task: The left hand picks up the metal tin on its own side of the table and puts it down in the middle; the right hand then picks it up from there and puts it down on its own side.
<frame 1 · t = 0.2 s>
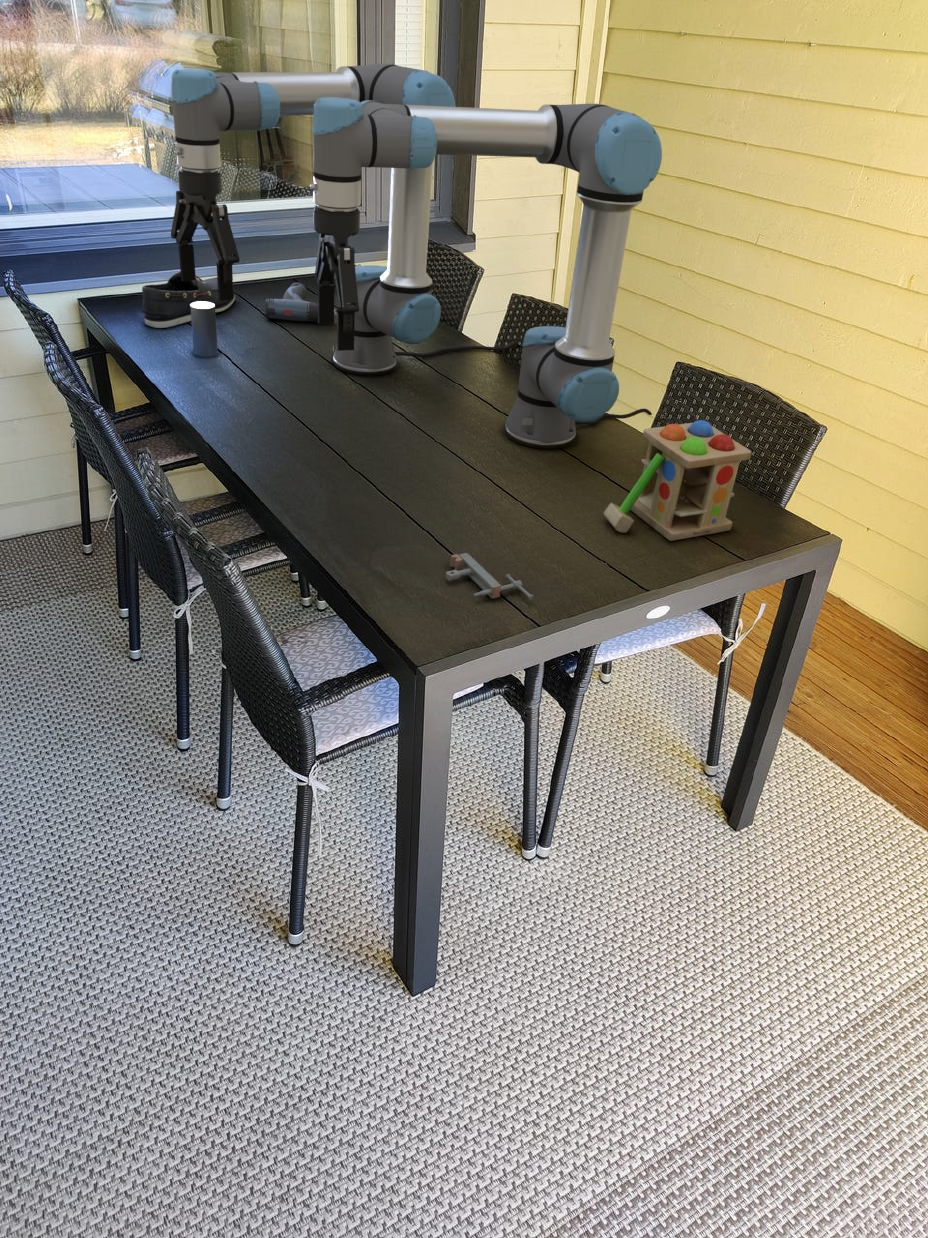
left hand: (206, 289, 186), 28 cm above the table, tool pointing down, fingers open, 13 cm apart
right hand: (335, 336, 170), 28 cm above the table, tool pointing down, fingers open, 13 cm apart
power drill: (305, 313, 267), on the table
clamp: (483, 587, 159), on the table
tin: (205, 353, 236), on the table
boat shoe: (191, 312, 260), on the table
molecular model: (338, 287, 290), on the table
pounding bench toy: (660, 522, 183), on the table
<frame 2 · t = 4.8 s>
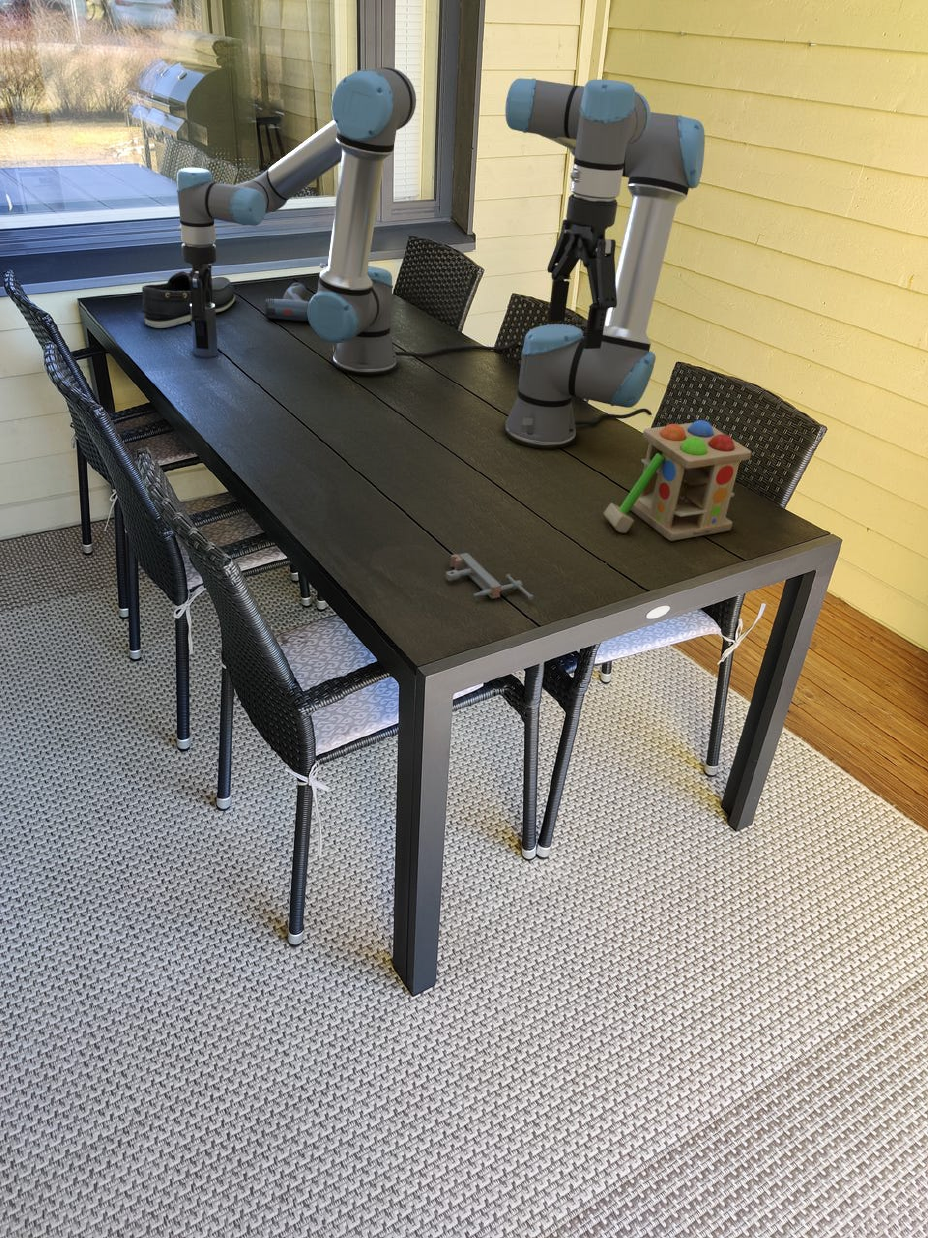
left hand: (205, 343, 235), 2 cm above the table, tool pointing down, fingers closed on tin, 6 cm apart
right hand: (573, 333, 161), 34 cm above the table, tool pointing down, fingers open, 13 cm apart
tin: (205, 353, 236), on the table, touching left hand
everything else where it was.
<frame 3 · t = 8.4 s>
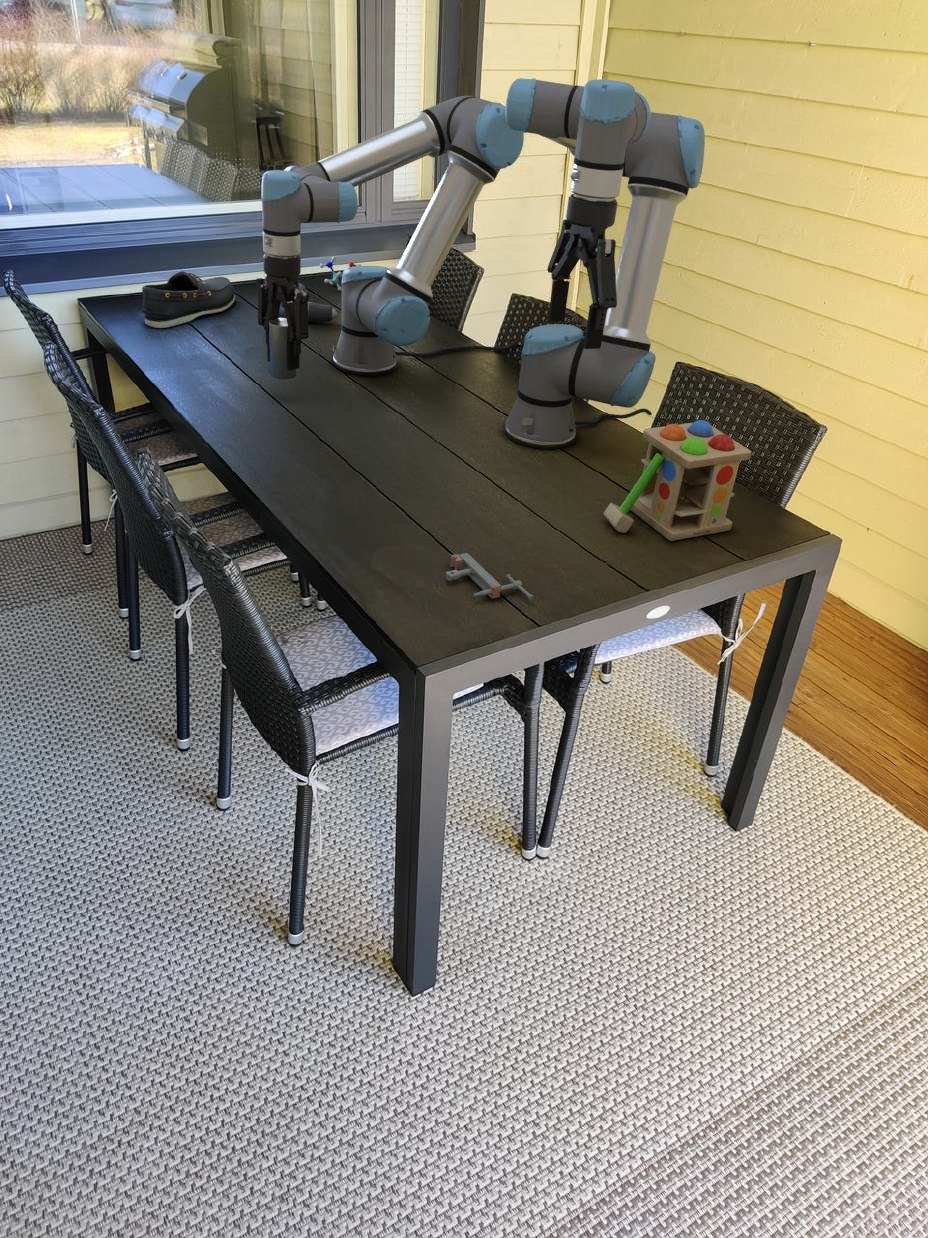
left hand: (283, 364, 213), 8 cm above the table, tool pointing down, fingers closed on tin, 6 cm apart
right hand: (573, 333, 161), 34 cm above the table, tool pointing down, fingers open, 13 cm apart
tin: (283, 374, 214), point 5 cm above the table, touching left hand
everything else where it was.
when the left hand's fingers open (4 cm above the table, at t = 11.9 s): tin drops 1 cm, on the table.
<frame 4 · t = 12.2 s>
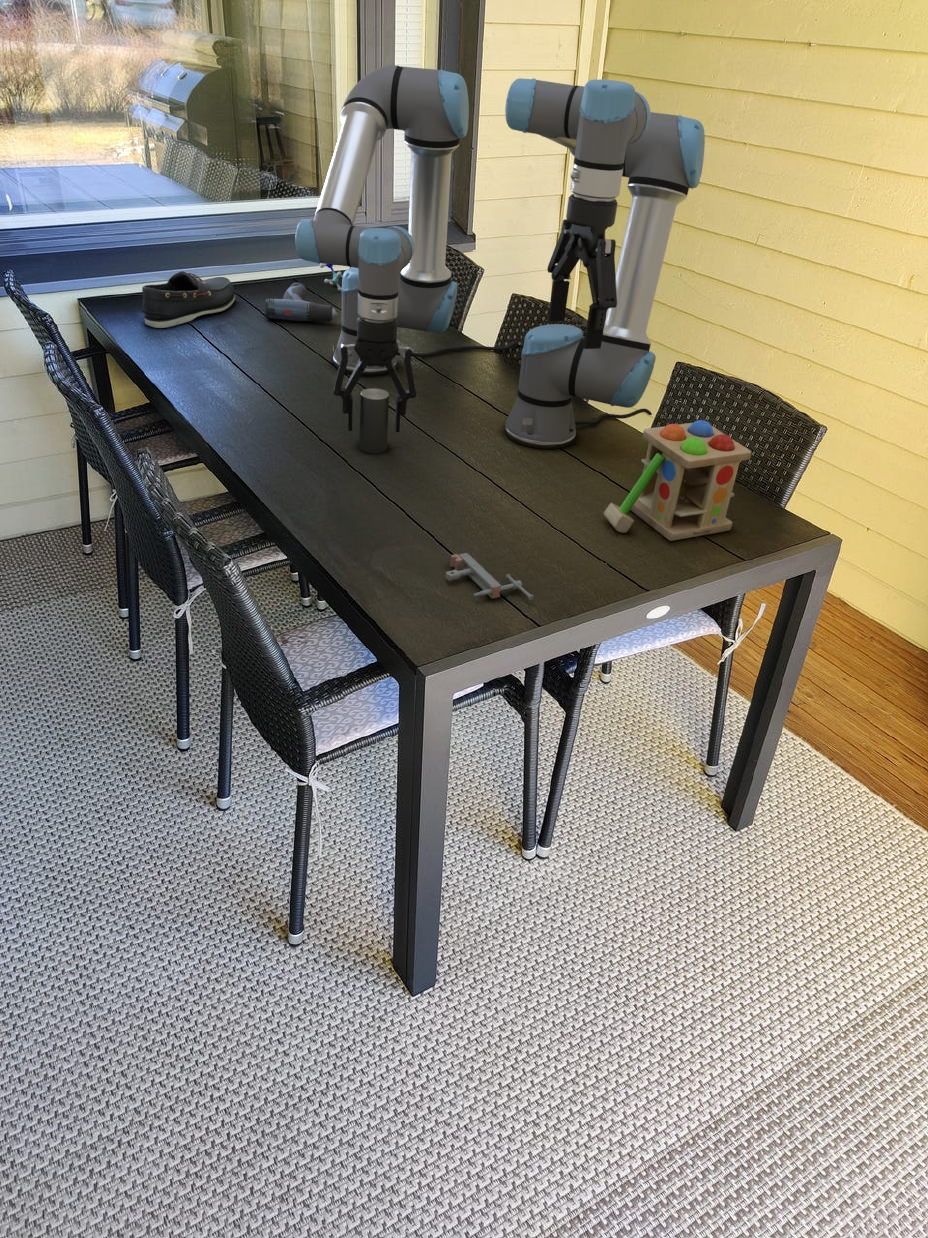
left hand: (373, 428, 197), 4 cm above the table, tool pointing down, fingers open, 9 cm apart
right hand: (573, 333, 161), 34 cm above the table, tool pointing down, fingers open, 13 cm apart
tin: (373, 447, 200), on the table
everything else where it was.
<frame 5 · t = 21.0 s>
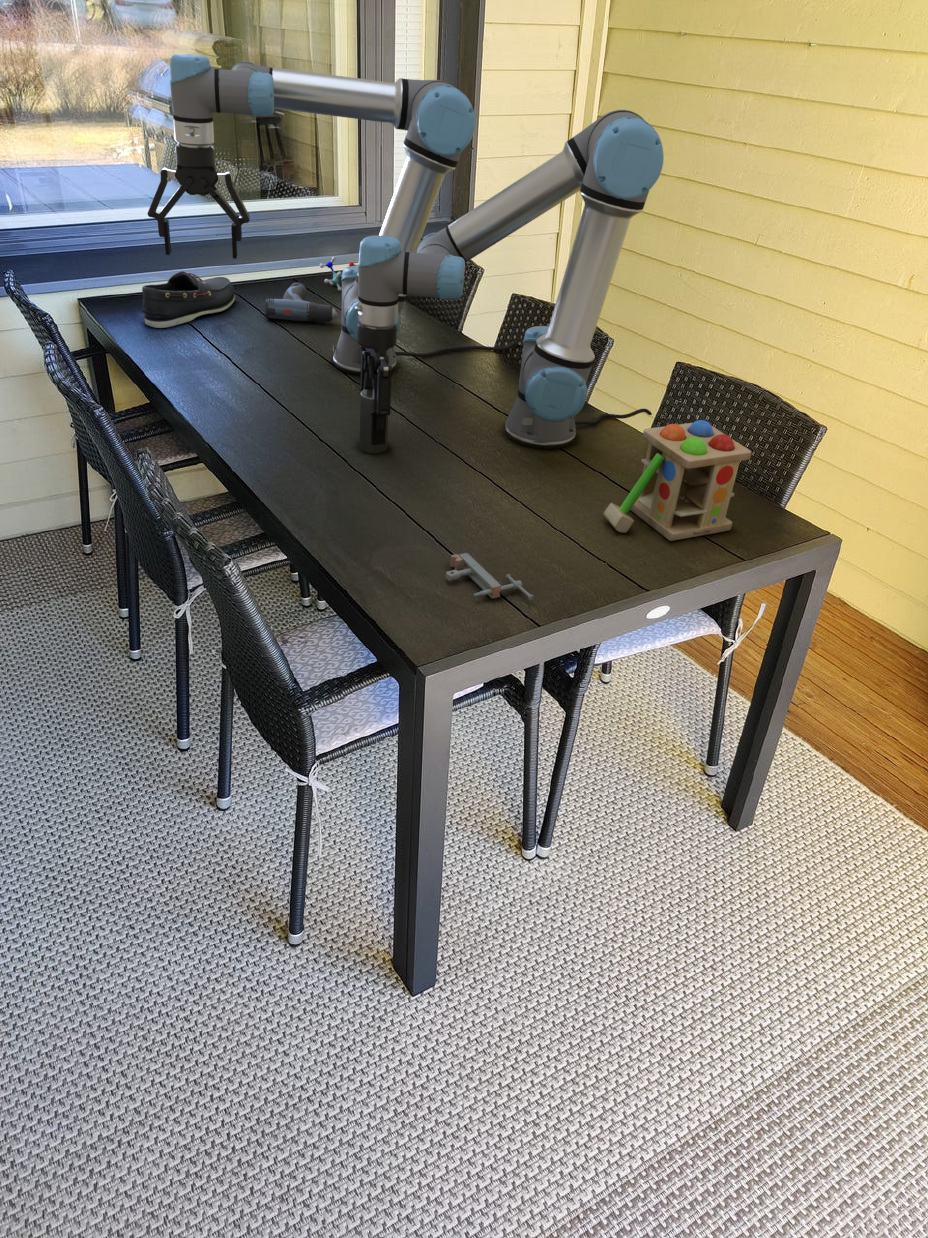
left hand: (201, 255, 206), 28 cm above the table, tool pointing down, fingers open, 13 cm apart
right hand: (373, 437, 198), 2 cm above the table, tool pointing down, fingers closed on tin, 6 cm apart
tin: (373, 447, 200), on the table, touching right hand
everything else where it was.
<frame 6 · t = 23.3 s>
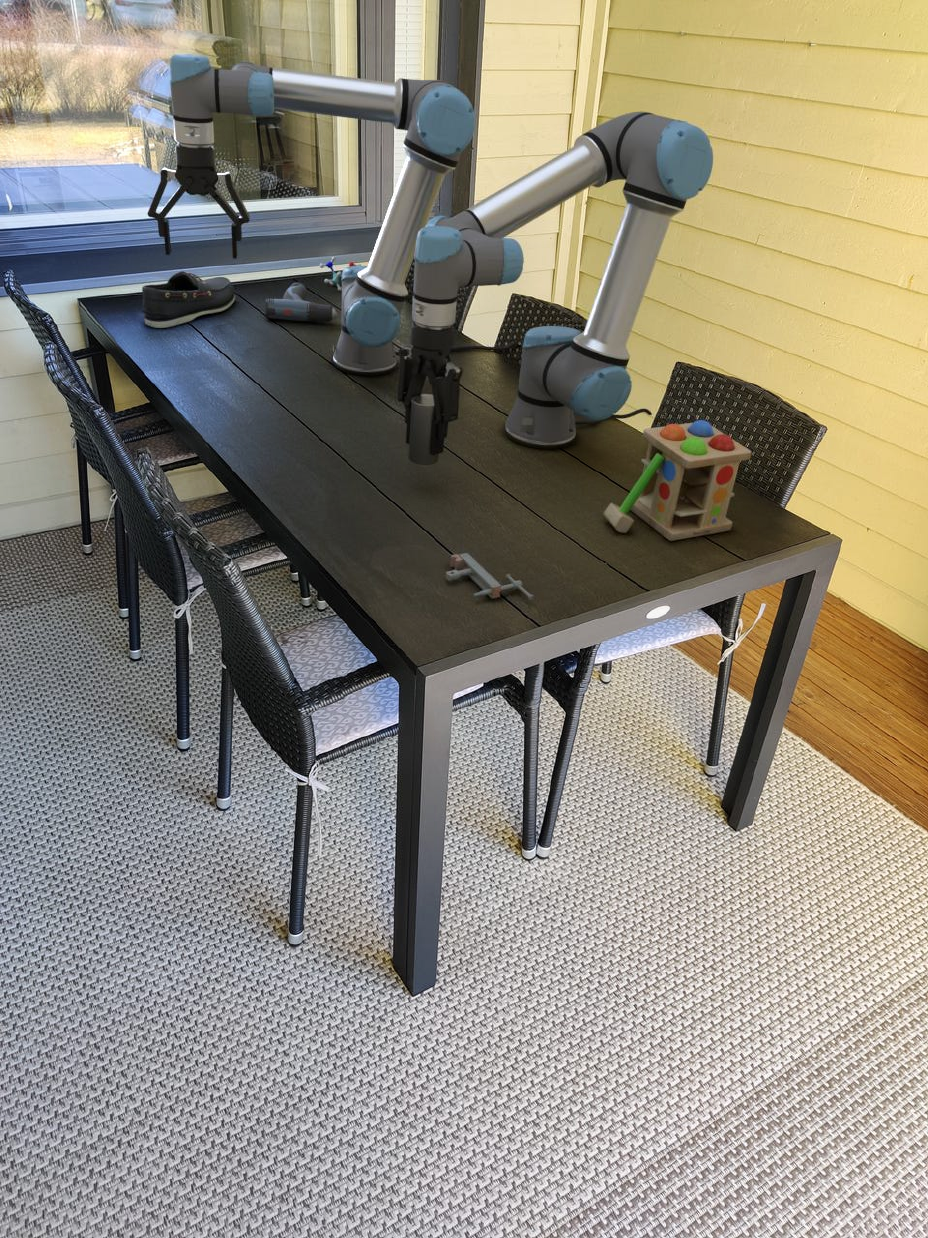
left hand: (201, 255, 206), 28 cm above the table, tool pointing down, fingers open, 13 cm apart
right hand: (424, 447, 182), 9 cm above the table, tool pointing down, fingers closed on tin, 6 cm apart
tin: (423, 458, 183), point 6 cm above the table, touching right hand
everything else where it was.
when the right hand's fingers open (4 cm above the table, at t = 25.8 s): tin drops 1 cm, on the table.
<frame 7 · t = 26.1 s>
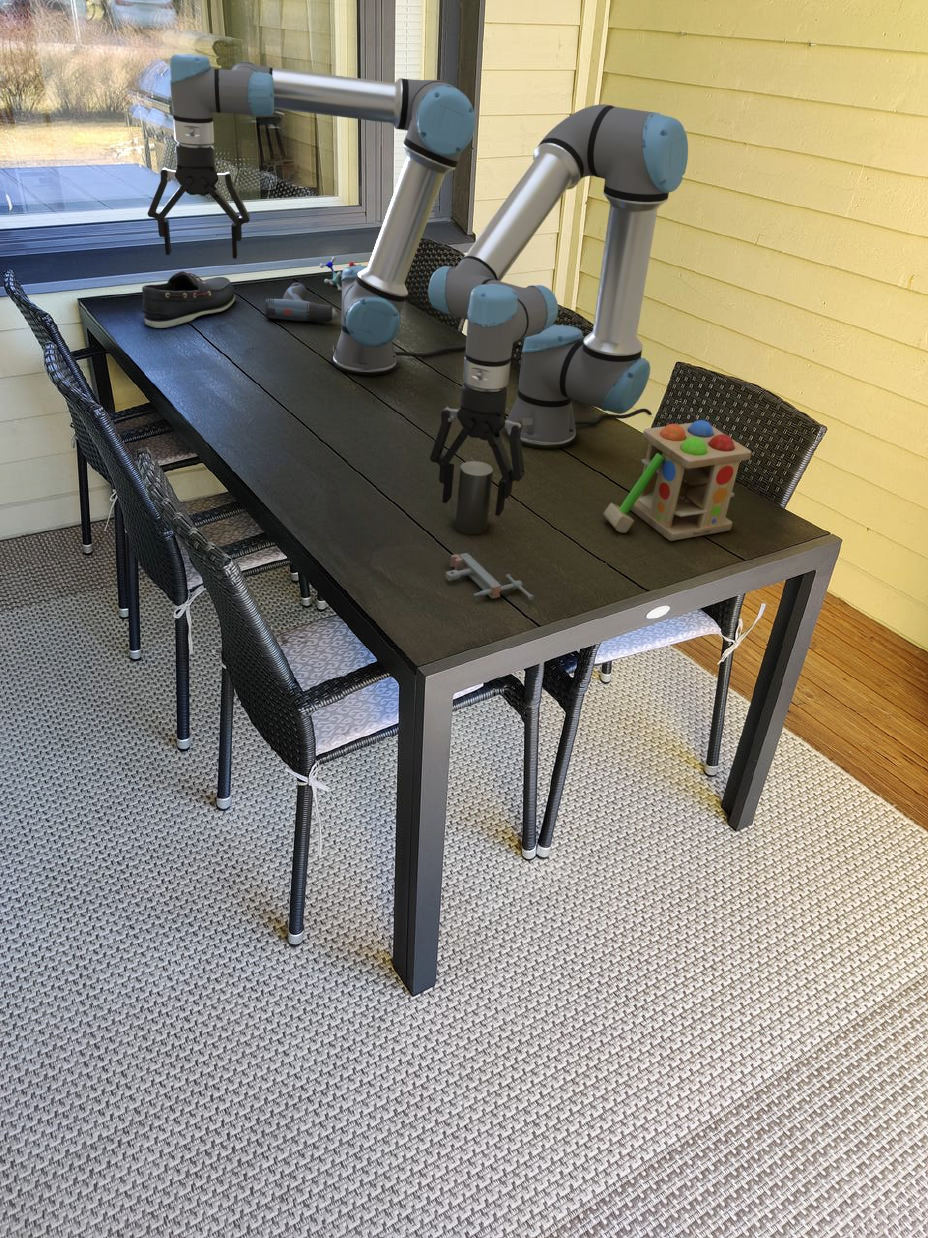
left hand: (201, 255, 206), 28 cm above the table, tool pointing down, fingers open, 13 cm apart
right hand: (473, 505, 173), 4 cm above the table, tool pointing down, fingers open, 9 cm apart
tin: (470, 526, 176), on the table
everything else where it was.
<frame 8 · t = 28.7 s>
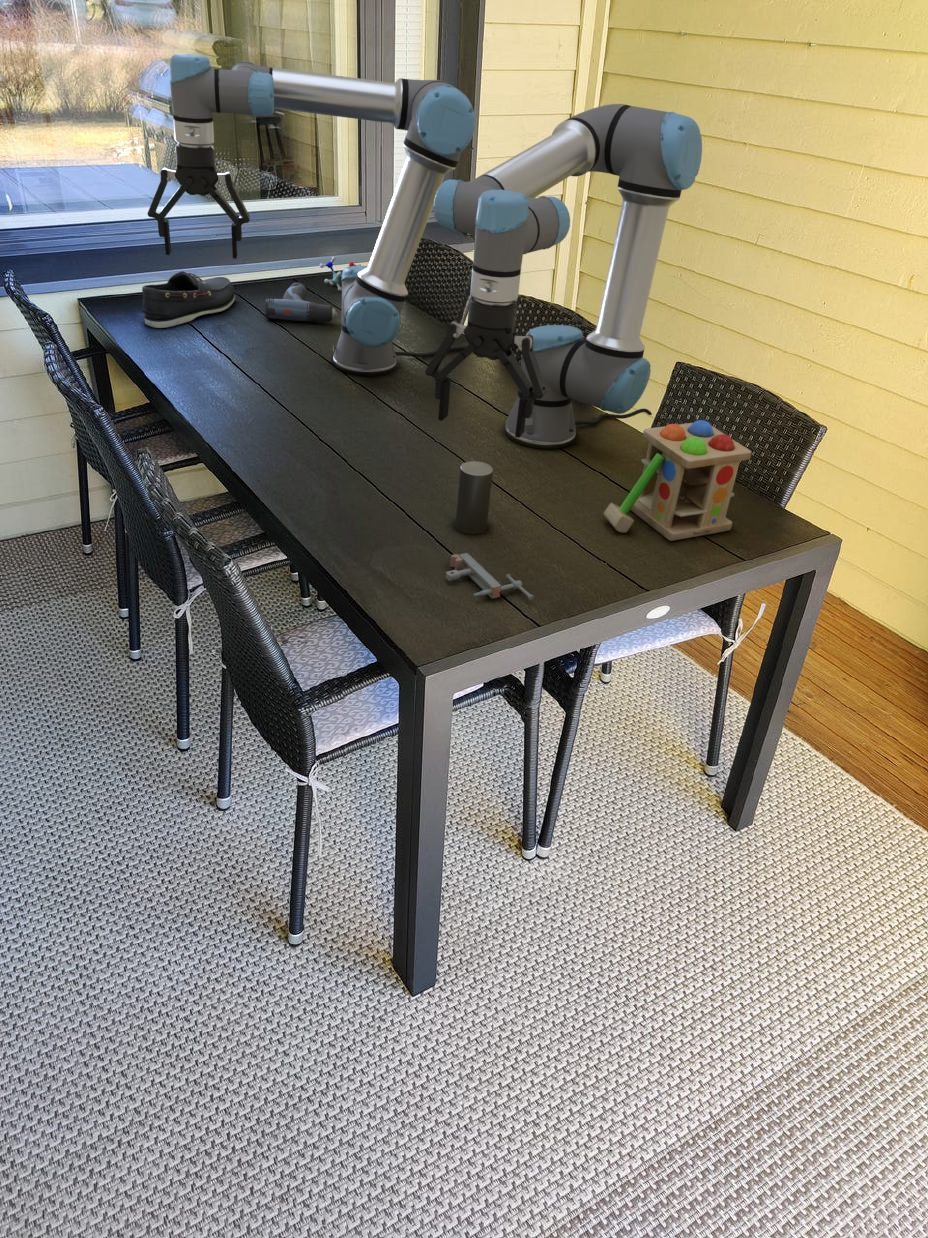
left hand: (201, 255, 206), 28 cm above the table, tool pointing down, fingers open, 13 cm apart
right hand: (480, 426, 165), 19 cm above the table, tool pointing down, fingers open, 13 cm apart
nothing on the table moved.
at the end: tin inside the target area (0.0 cm from its centre), on the table; tin tilted 0°; the two hands never held the tin at the same time; the left hand is holding nothing; the right hand is holding nothing; tin at rest at the end (0.0 cm/s) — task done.
